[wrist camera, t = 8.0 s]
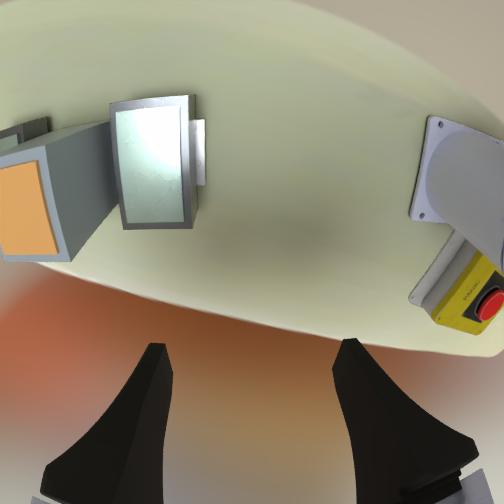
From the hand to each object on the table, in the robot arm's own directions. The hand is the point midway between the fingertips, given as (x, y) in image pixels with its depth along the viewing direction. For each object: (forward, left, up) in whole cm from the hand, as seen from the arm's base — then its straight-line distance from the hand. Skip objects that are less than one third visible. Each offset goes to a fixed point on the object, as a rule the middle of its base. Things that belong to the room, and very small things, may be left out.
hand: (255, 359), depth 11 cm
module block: (+10, -6, -9) cm, 15 cm away
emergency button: (-23, +5, -11) cm, 26 cm away
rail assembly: (+10, -6, -10) cm, 15 cm away
